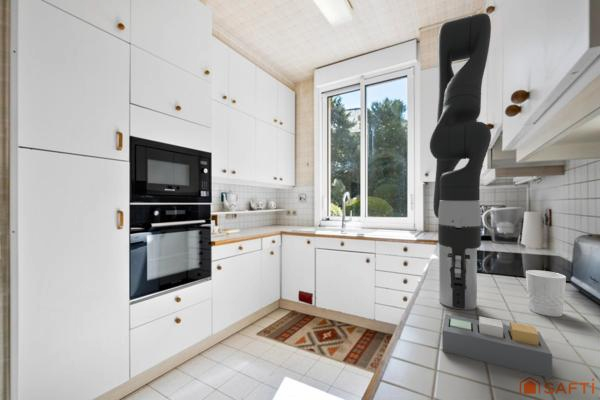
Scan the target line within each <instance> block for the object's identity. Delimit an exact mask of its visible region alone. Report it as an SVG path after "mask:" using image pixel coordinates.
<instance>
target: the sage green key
mask: <svg viewBox="0 0 600 400" xmlns="http://www.w3.org/2000/svg"><path fill="white" fill-rule="evenodd" d="M450 327H453V328H457V329H462V330H467V331H471V322H467V321H461V320H456V319H451V322H450Z"/></svg>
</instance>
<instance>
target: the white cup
mask: <svg viewBox="0 0 600 400" xmlns="http://www.w3.org/2000/svg"><path fill="white" fill-rule="evenodd" d="M525 280H526V294H527V300H528V301H527V303H528V309H529V310H530V311H532V312H533V313H535V314H539V315H542V316H547V317H562V316H564V305H565V297H566V280H567V276H566V275H564V274H562V273H558V272H553V271H548V270H536V269H530V270H529V269H528V270H526V271H525Z"/></svg>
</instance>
